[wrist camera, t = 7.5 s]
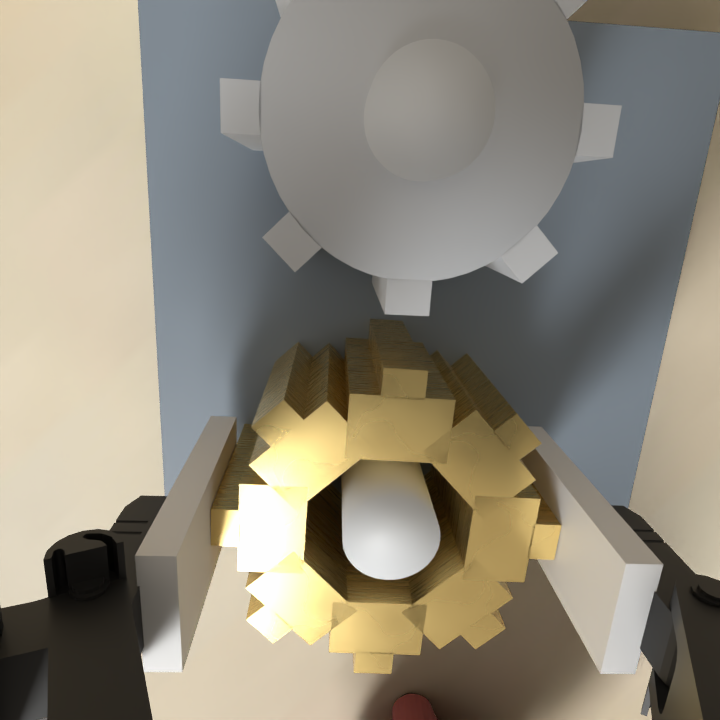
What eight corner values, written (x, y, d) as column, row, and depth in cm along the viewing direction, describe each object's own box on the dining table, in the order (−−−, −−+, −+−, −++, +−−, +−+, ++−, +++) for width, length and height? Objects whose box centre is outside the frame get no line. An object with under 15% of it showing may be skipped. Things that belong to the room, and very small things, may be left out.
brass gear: (520, 329, 17) (592, 381, 12) (481, 559, 20) (528, 677, 15) (247, 309, 17) (211, 356, 12) (242, 549, 19) (210, 668, 14)
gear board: (705, 17, 16) (968, -109, 9) (601, 514, 21) (726, 664, 14) (154, -27, 15) (11, -201, 8) (178, 503, 20) (99, 658, 13)
